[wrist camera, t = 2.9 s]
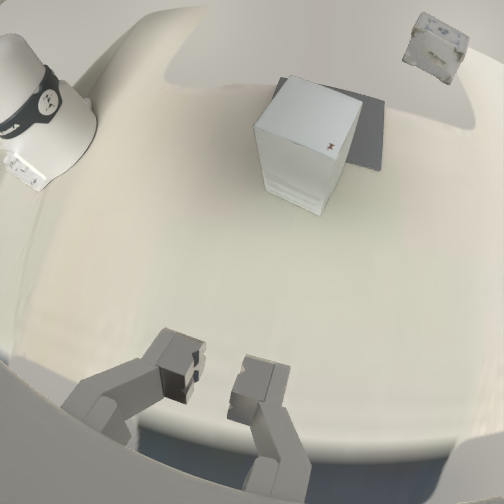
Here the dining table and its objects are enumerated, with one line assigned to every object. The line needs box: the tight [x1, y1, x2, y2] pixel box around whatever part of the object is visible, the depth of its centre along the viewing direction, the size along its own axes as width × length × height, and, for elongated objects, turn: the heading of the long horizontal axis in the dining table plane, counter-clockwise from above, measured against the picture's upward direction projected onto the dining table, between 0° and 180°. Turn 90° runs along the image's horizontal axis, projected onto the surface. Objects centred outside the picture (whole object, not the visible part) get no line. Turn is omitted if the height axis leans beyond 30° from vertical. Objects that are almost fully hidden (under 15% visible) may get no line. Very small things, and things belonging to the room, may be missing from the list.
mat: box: [272, 77, 384, 171], centre depth 37 cm, size 16×13×1 cm
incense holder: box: [402, 12, 470, 85], centre depth 35 cm, size 10×8×10 cm
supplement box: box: [253, 75, 363, 216], centre depth 28 cm, size 7×7×13 cm
